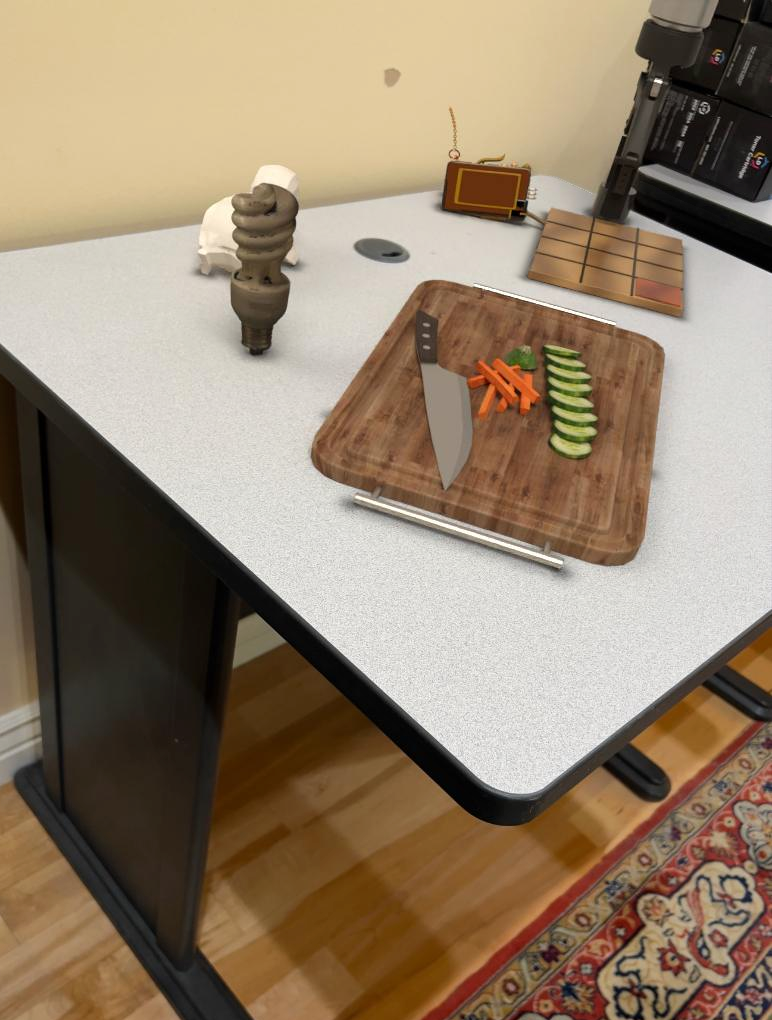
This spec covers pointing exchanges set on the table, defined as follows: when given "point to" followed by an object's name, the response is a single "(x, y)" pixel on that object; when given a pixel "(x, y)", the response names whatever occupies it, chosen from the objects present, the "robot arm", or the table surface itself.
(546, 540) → the chopping board
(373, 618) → the table surface
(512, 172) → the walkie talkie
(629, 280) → the game board
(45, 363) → the table surface
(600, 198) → the dark grey short cylinder
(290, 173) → the white lumpy sculpture
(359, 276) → the table surface
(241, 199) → the light bulb
